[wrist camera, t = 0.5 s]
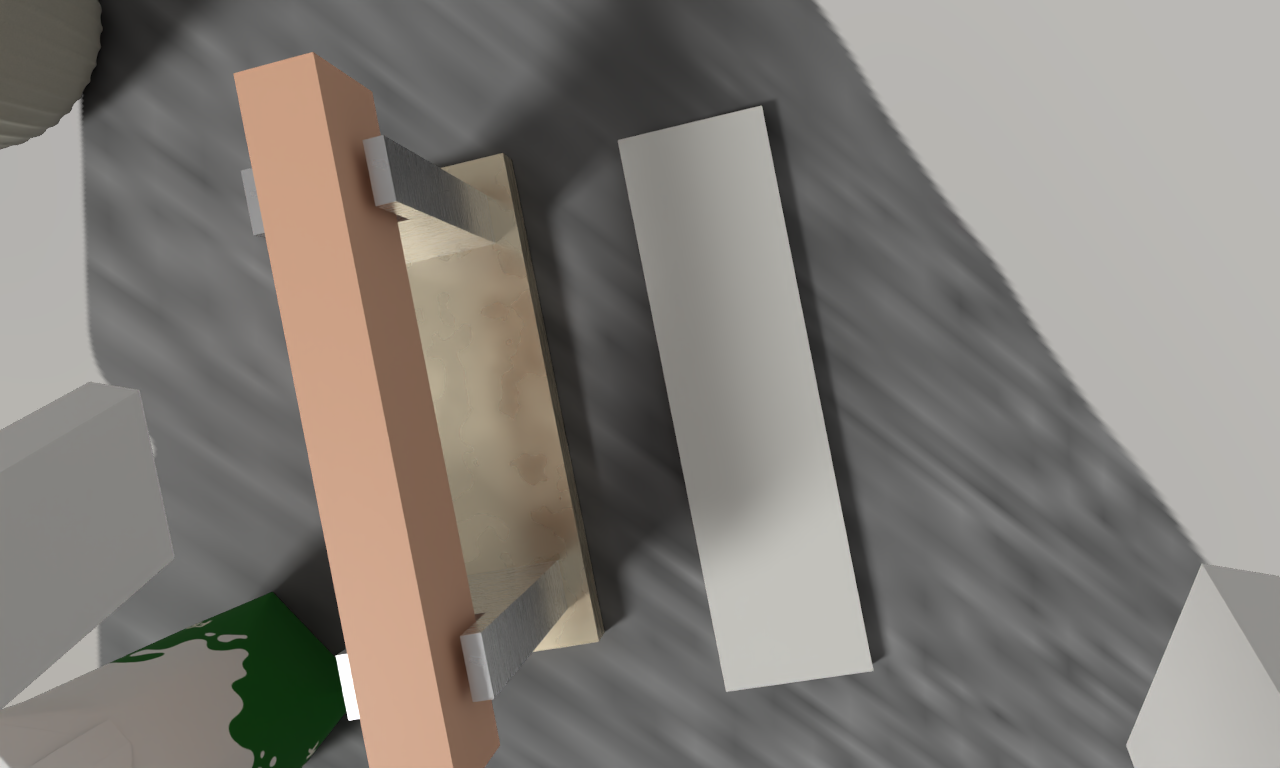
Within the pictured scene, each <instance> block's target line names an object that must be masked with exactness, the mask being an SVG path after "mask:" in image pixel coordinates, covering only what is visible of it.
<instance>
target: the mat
mask: <svg viewBox="0 0 1280 768" xmlns="http://www.w3.org/2000/svg"><path fill="white" fill-rule="evenodd" d="M618 145H619V150H620V155H621V160H622V165H623V170H624V175H625V181H626V186H627V191H628V196H629V201H630V206H631V211H632V216H633V221H634V226H635V231H636V236H637V241H638V247H639V252H640V257H641V262H642V267H643V272H644V277H645V282H646V287H647V292H648V297H649V302H650V307H651V313H652V318H653V323H654V328H655V333H656V338H657V343H658V348H659V353H660V358H661V363H662V368H663V373H664V379H665V384H666V389H667V394H668V399H669V404H670V409H671V414H672V419H673V424H674V429H675V434H676V439H677V445H678V450H679V455H680V460H681V465H682V470H683V475H684V480H685V485H686V490H687V495H688V500H689V505H690V511H691V516H692V521H693V526H694V531H695V536H696V541H697V546H698V551H699V556H700V561H701V566H702V572H703V577H704V582H705V587H706V592H707V597H708V602H709V607H710V612H711V617H712V622H713V627H714V632H715V638H716V643H717V648H718V653H719V658H720V663H721V668H722V673H723V678H724V683H725V688H726V692H728V691H735V690H742V689H749V688H756V687H763V686H770V685H777V684H784V683H791V682H798V681H805V680H812V679H820V678H827V677H834V676H841V675H848V674H855V673H862V672H869V671H873V666H872V661H871V656H870V651H869V646H868V641H867V636H866V631H865V626H864V621H863V616H862V610H861V605H860V600H859V595H858V590H857V585H856V580H855V575H854V570H853V565H852V560H851V555H850V550H849V545H848V540H847V534H846V529H845V524H844V519H843V514H842V509H841V504H840V499H839V494H838V489H837V484H836V479H835V474H834V469H833V464H832V459H831V453H830V448H829V443H828V438H827V433H826V428H825V423H824V418H823V413H822V408H821V403H820V398H819V393H818V388H817V383H816V377H815V372H814V367H813V362H812V357H811V352H810V347H809V342H808V337H807V332H806V327H805V322H804V317H803V312H802V307H801V301H800V296H799V291H798V286H797V281H796V276H795V271H794V266H793V261H792V256H791V251H790V246H789V241H788V236H787V231H786V225H785V220H784V215H783V210H782V205H781V200H780V195H779V190H778V185H777V180H776V175H775V170H774V165H773V160H772V155H771V149H770V144H769V139H768V134H767V129H766V124H765V119H764V114H763V109H762V106H757V107H753V108H749V109H745V110H741V111H737V112H733V113H728V114H724V115H720V116H716V117H712V118H708V119H703V120H699V121H695V122H691V123H687V124H683V125H679V126H674V127H670V128H666V129H662V130H658V131H654V132H649V133H645V134H641V135H637V136H633V137H629V138H625V139H620V140H618Z"/></svg>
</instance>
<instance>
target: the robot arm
mask: <svg viewBox="0 0 1280 768" xmlns="http://www.w3.org/2000/svg"><path fill="white" fill-rule="evenodd" d="M174 558H175V556H174V551H173V547H172V542H171V537H170V532H169V528H168V523H167V518H166V513H165V509H164V504H163V499H162V494H161V489H160V485H159V480H158V475H157V470H156V466H155V461H154V456H153V451H152V447H151V442H150V437H149V432H148V428H147V423H146V418H145V413H144V409H143V404H142V399H141V394H140V390H136V389H130V388H124V387H118V386H112V385H106V384H100V383H93V382H88V383H86V384H85V385H83V386H81V387H79V388H77V389H75V390H73V391H72V392H70V393H68V394H66V395H64V396H62V397H61V398H59V399H57V400H55V401H53V402H51V403H50V404H48V405H46V406H44V407H42V408H40V409H39V410H37V411H35V412H33V413H31V414H29V415H27V416H26V417H24V418H22V419H20V420H18V421H16V422H14V423H13V424H11V425H9V426H7V427H5V428H3V429H2V430H0V710H1V709H2V708H3V707H5V706H6V705H7V704H8V703H9V702H10V701H11V700H13V699H14V698H15V697H16V696H17V695H18V694H19V693H21V692H22V691H23V690H24V689H25V688H26V687H27V686H29V685H30V684H31V683H32V682H33V681H34V680H35V679H37V678H38V677H39V676H40V675H41V674H42V673H43V672H45V671H46V670H47V669H48V668H49V667H50V666H51V665H52V664H54V663H55V662H56V661H57V660H58V659H60V658H61V657H62V656H63V655H64V654H65V653H66V652H68V651H69V650H70V649H71V648H72V647H73V646H74V645H76V644H77V643H78V642H79V641H80V640H81V639H82V638H84V637H85V636H86V635H87V634H88V633H89V632H91V631H92V630H93V629H94V628H95V627H96V626H97V625H99V624H100V623H101V622H102V621H103V620H104V619H105V618H107V617H108V616H109V615H110V614H111V613H112V612H113V611H115V610H116V609H117V608H118V607H119V606H120V605H121V604H123V603H124V602H125V601H126V600H127V599H128V598H129V597H131V596H132V595H133V594H134V593H135V592H136V591H137V590H139V589H140V588H141V587H142V586H143V585H144V584H146V583H147V582H148V581H149V580H150V579H151V578H152V577H154V576H155V575H156V574H157V573H158V572H159V571H160V570H162V569H163V568H164V567H165V566H166V565H167V564H168V563H170V562H171V561H172V560H173V559H174ZM1126 746H1127V749H1128V752H1129V754H1130V757H1131V760H1132V763H1133V765H1134V768H1280V577H1279V576H1275V575H1269V574H1263V573H1256V572H1250V571H1244V570H1238V569H1232V568H1226V567H1220V566H1214V565H1208V564H1201V567H1200V569H1199V572H1198V574H1197V576H1196V579H1195V581H1194V584H1193V586H1192V588H1191V591H1190V593H1189V596H1188V598H1187V600H1186V603H1185V605H1184V608H1183V610H1182V612H1181V615H1180V617H1179V620H1178V622H1177V624H1176V627H1175V629H1174V632H1173V634H1172V636H1171V639H1170V641H1169V644H1168V646H1167V648H1166V651H1165V653H1164V656H1163V658H1162V660H1161V663H1160V665H1159V668H1158V670H1157V672H1156V675H1155V677H1154V680H1153V682H1152V684H1151V687H1150V689H1149V692H1148V694H1147V697H1146V699H1145V701H1144V704H1143V706H1142V709H1141V711H1140V713H1139V716H1138V718H1137V721H1136V723H1135V725H1134V728H1133V730H1132V733H1131V735H1130V737H1129V740H1128V742H1127V745H1126Z"/></svg>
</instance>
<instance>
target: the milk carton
mask: <svg viewBox="0 0 1280 768" xmlns="http://www.w3.org/2000/svg"><path fill="white" fill-rule="evenodd" d="M346 711H347V710H346V705H345V700H344V695H343V690H342V685H341V679H340V674H339V669H338V664H337V659H336V658H335V657H334V656H333V655H332V653H331V652H330V651H329V650H328V649H327V648H326V647H325V646H324V645H323V644H322V643H321V642H320V641H319V640H318V639H317V638H316V637H315V636H314V635H313V634H312V633H311V632H310V631H309V629H308V628H307V627H306V626H305V625H304V624H303V623H302V622H301V621H300V620H299V619H298V618H297V617H296V616H295V615H294V614H293V613H292V612H291V611H290V610H289V609H288V608H287V607H286V605H285V604H284V603H283V602H282V601H281V600H280V599H279V598H278V597H277V596H276V595H275V594H274V593H273V592H271V593H268V594H266V595H264V596H261V597H259V598H257V599H254V600H252V601H250V602H247V603H245V604H242V605H240V606H238V607H235V608H233V609H231V610H228V611H226V612H223V613H221V614H219V615H216V616H214V617H212V618H209V619H207V620H204V621H202V622H200V623H197V624H195V625H193V626H190V627H188V628H186V629H184V630H181V631H179V632H177V633H175V634H173V635H170V636H168V637H166V638H164V639H161V640H159V641H157V642H155V643H153V644H150V645H148V646H146V647H144V648H142V649H139V650H137V651H135V652H133V653H131V654H128V655H126V656H124V657H122V658H120V659H117V660H115V661H113V662H111V663H108V664H106V665H104V666H102V667H100V668H97V669H95V670H93V671H91V672H89V673H86V674H84V675H82V676H80V677H78V678H75V679H74V680H71V681H69V682H67V683H65V684H62V685H60V686H58V687H56V688H53V689H51V690H49V691H47V692H45V693H42V694H40V695H38V696H36V697H34V698H31V699H29V700H27V701H24V702H22V703H19V704H16V705H13V706H10V707H7V708H4V709H1V710H0V768H302V767H303V766H304V765H305V763H306V762H307V761H308V760H309V758H310V757H311V756H312V755H313V753H314V752H315V751H316V750H317V748H318V747H319V746H320V744H321V743H322V742H323V741H324V739H325V738H326V737H327V736H328V734H329V733H330V732H331V730H332V729H333V728H334V727H335V725H336V724H337V723H338V722H339V720H340V719H341V718H342V716H343V715H344V714H345V713H346Z"/></svg>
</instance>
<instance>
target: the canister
mask: <svg viewBox="0 0 1280 768" xmlns="http://www.w3.org/2000/svg"><path fill="white" fill-rule="evenodd" d="M101 13H102V8H101V6H100V3H99V1H98V0H0V149H3V148H6V147H9V146H12V145H19V144H22V143H24V142H26V141H28V140H29V139H30V138H33V137H37V136H40V135H42V134H43V133H44V132H45V131H46V129H47V128H49V127H53V126H55V125H56V124H58V122H59V120H60V119H61V118H62V117H63V116H64V115H65V114H67V113H69V112H70V111H71V109H72V106H73V104H74V103H75V102H76V101H77V100H79V99H80V98H81V97H82V93H83V90H84V88H85V87H86V85H87V84H88V83H90V77H91V73H92V71H93V69H94V68H95V67H96V66H97V63H96V60H97V55H98V52H99V50H100V48H101V44H100V35H101V32H102V30H103V27H102V25H101Z"/></svg>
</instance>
